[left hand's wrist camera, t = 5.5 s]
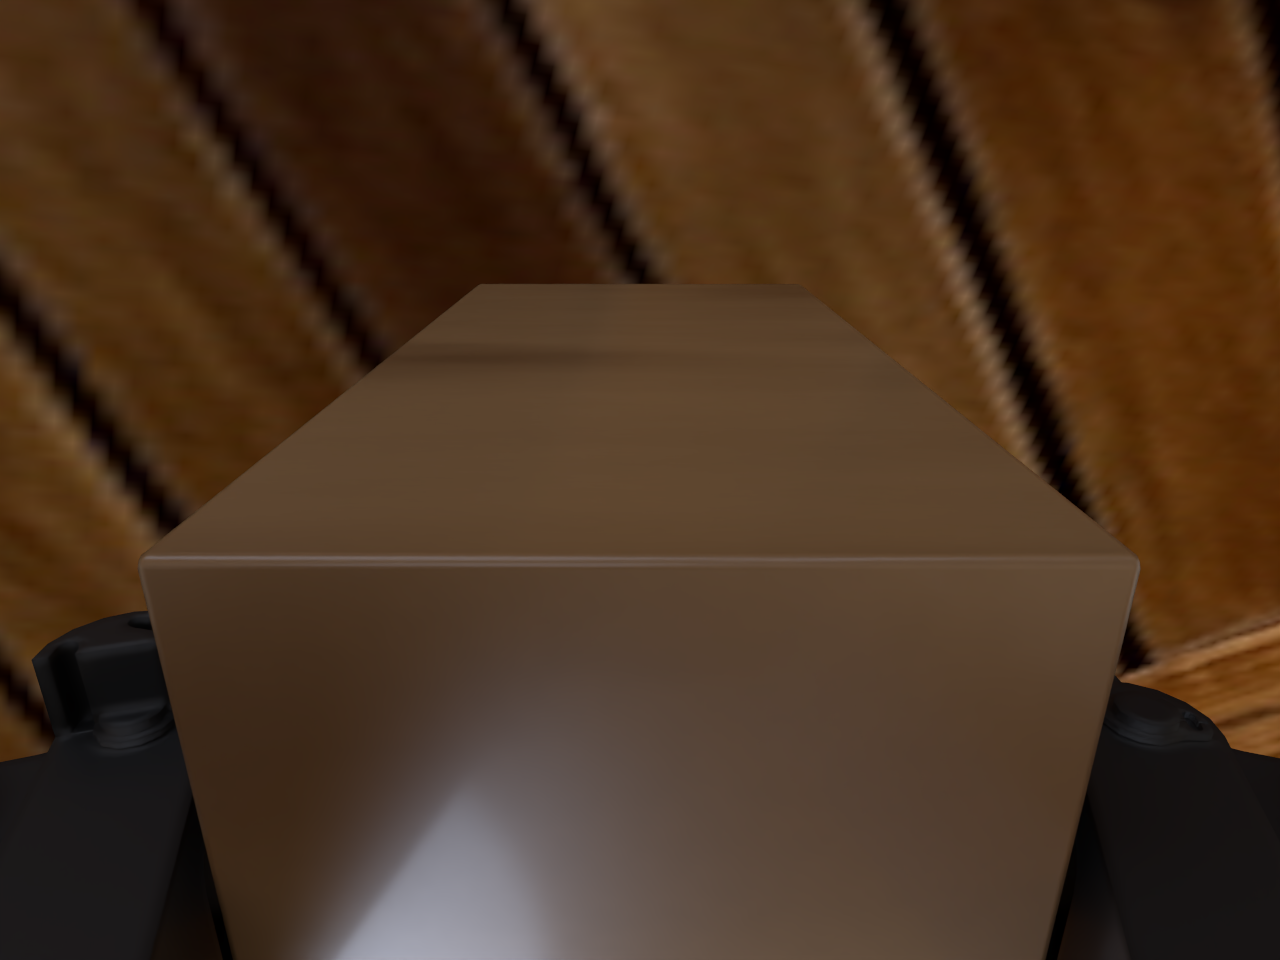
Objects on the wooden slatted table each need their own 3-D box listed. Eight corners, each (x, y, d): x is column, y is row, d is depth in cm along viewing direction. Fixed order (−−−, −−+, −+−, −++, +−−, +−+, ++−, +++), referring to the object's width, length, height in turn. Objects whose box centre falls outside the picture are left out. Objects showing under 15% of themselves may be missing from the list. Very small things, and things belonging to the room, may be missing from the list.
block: (778, 621, 18) (974, 1275, 7) (500, 621, 18) (305, 1276, 7) (801, 283, 15) (1150, 557, 5) (477, 283, 15) (129, 559, 5)
